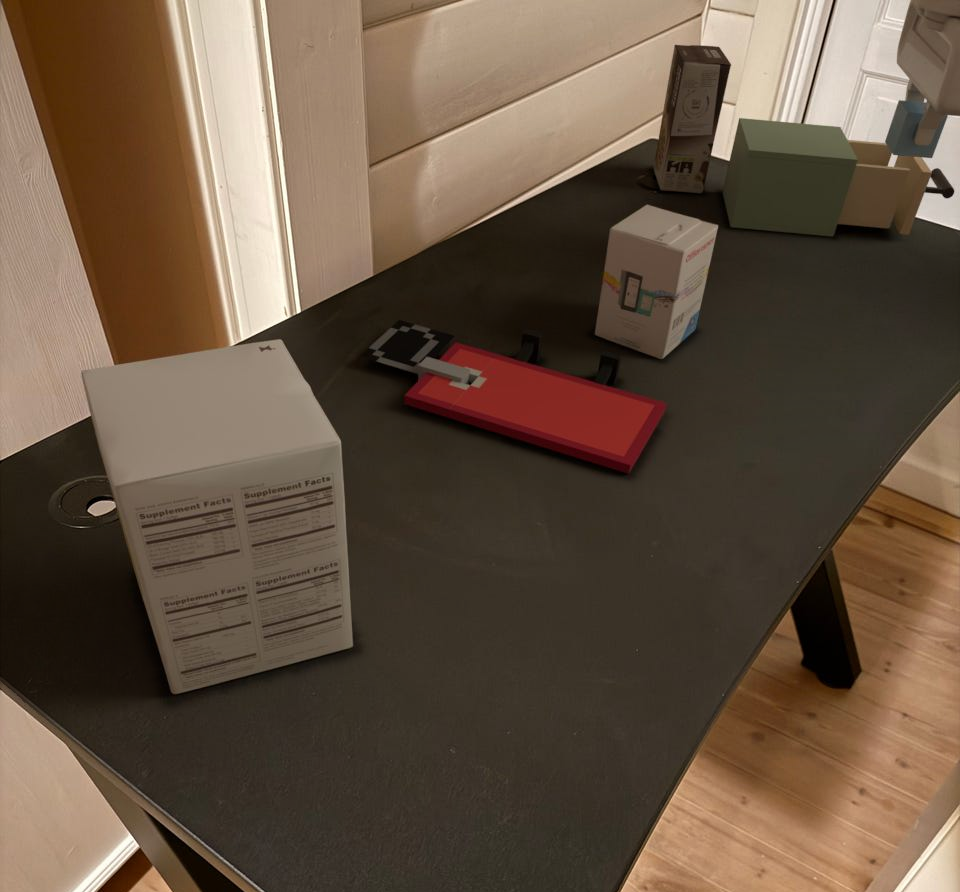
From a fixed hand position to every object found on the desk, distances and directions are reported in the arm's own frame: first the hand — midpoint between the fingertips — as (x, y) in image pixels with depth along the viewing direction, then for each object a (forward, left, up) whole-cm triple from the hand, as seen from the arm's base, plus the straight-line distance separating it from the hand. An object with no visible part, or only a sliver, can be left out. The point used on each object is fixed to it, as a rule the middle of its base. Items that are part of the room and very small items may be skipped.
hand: (913, 134), depth 106 cm
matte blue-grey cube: (0, 0, -2) cm, 2 cm away
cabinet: (+9, -15, -15) cm, 24 cm away
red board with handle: (+42, +38, -16) cm, 59 cm away
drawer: (-3, -15, -15) cm, 21 cm away
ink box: (+28, +23, -16) cm, 40 cm away
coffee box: (+22, -24, -16) cm, 37 cm away
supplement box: (+59, +72, -16) cm, 94 cm away
